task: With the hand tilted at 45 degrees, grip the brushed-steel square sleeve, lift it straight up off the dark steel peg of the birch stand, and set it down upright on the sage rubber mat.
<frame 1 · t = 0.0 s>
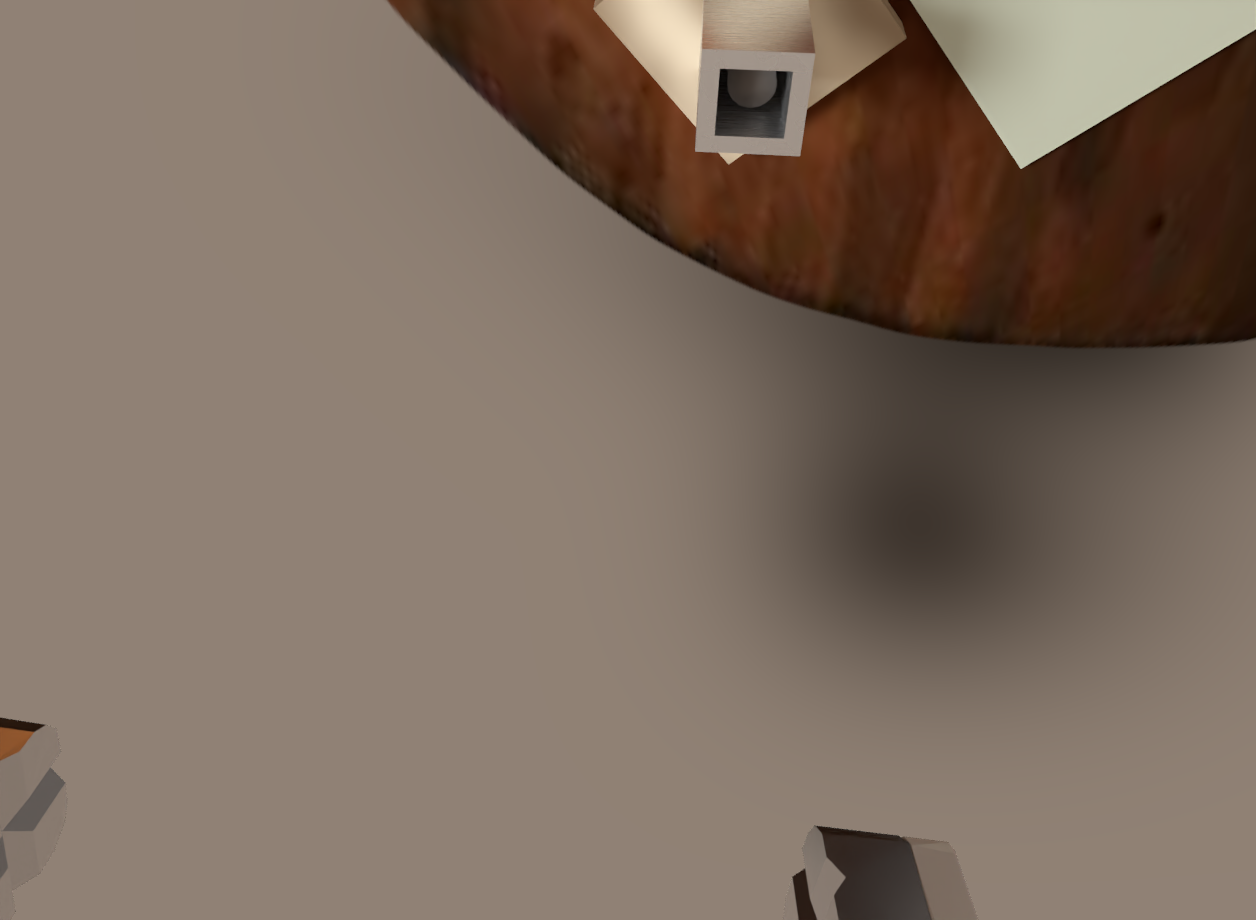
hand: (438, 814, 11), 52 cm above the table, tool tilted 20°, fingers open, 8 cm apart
steel sleeve: (749, 23, 54), point 2 cm above the table, touching peg stand
peg stand: (749, 8, 55), on the table
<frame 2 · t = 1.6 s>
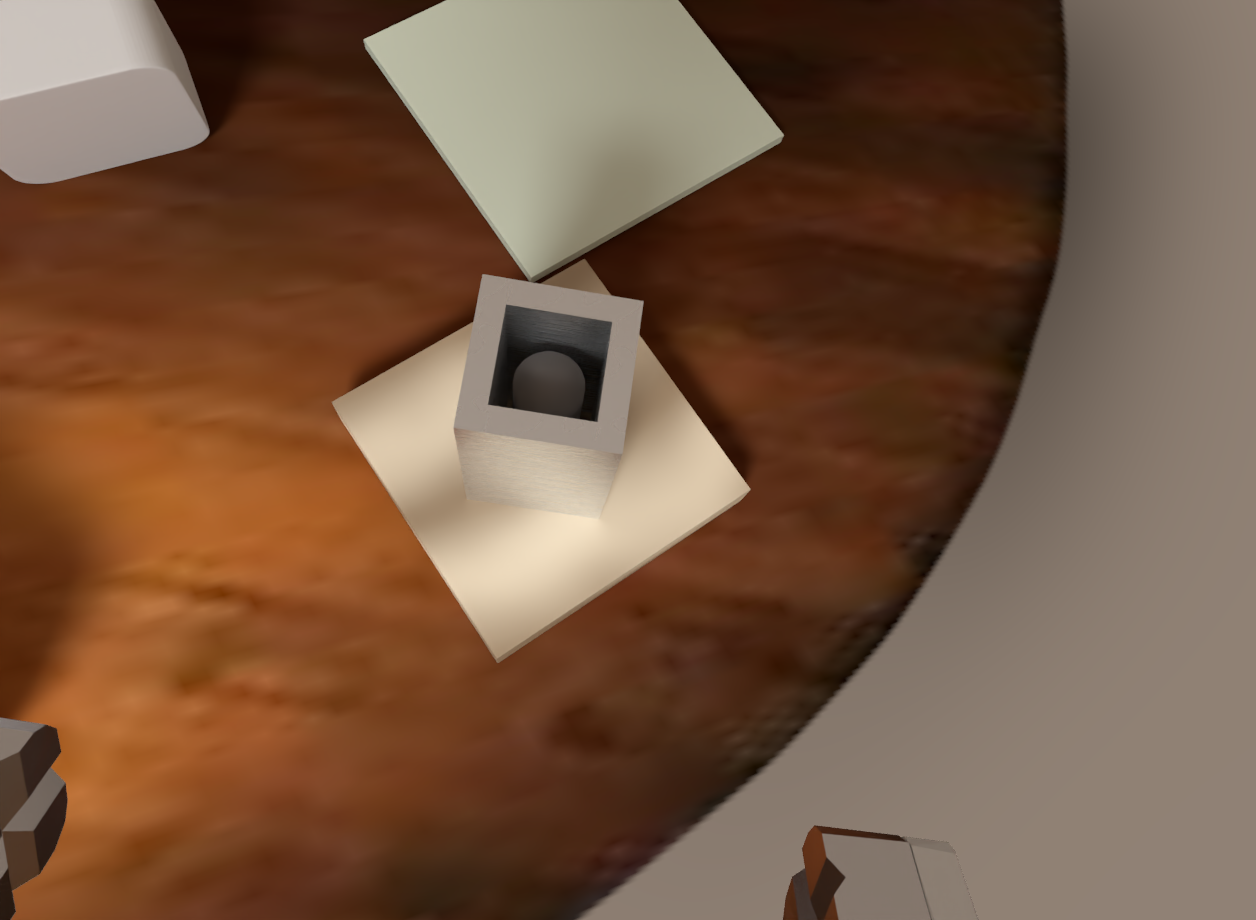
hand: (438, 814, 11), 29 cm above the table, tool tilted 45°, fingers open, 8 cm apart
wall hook: (101, 90, 45), on the table
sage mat: (575, 95, 47), on the table
steel sleeve: (543, 446, 40), point 2 cm above the table, touching peg stand
peg stand: (542, 460, 42), on the table
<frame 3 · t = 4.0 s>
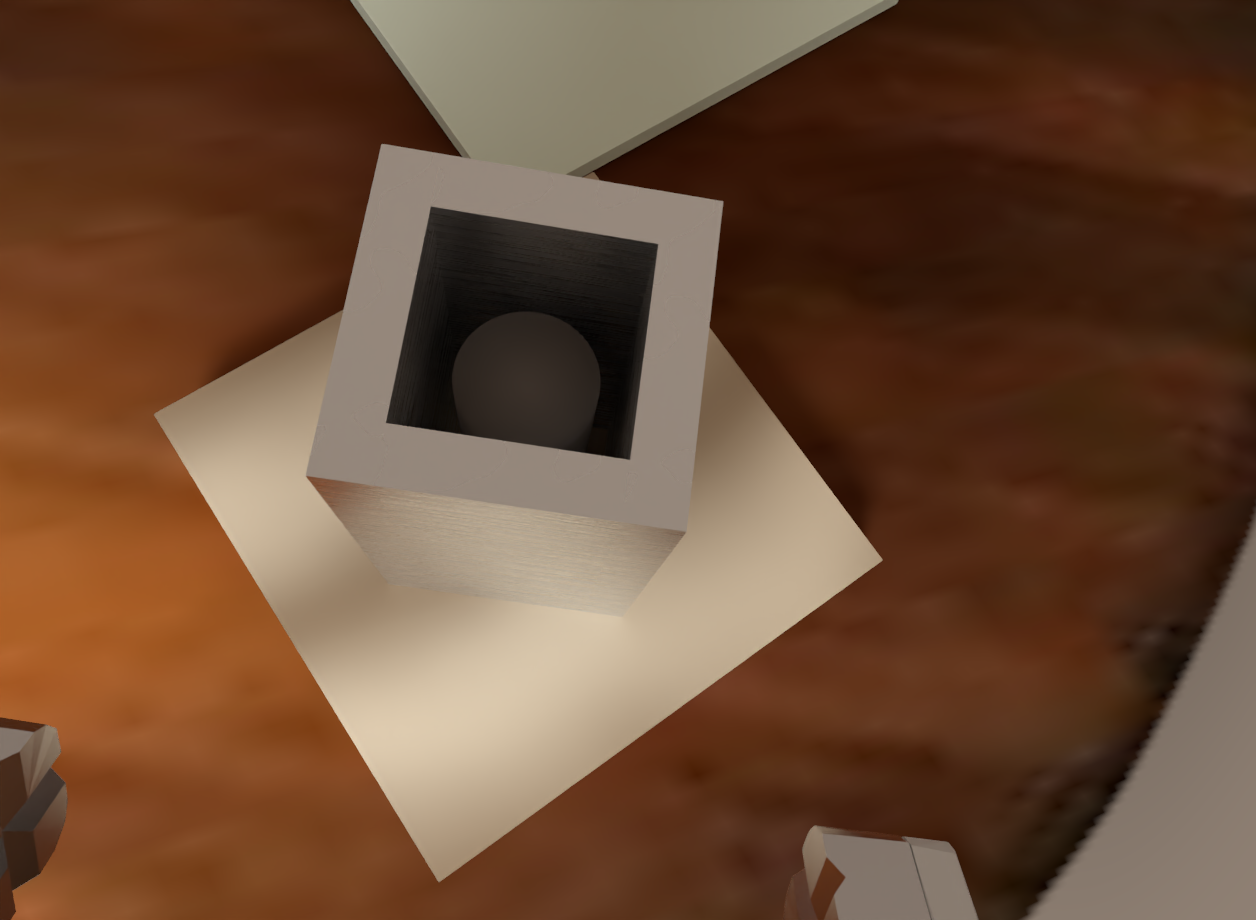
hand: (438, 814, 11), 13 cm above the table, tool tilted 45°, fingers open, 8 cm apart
steel sleeve: (524, 488, 23), point 2 cm above the table, touching peg stand
peg stand: (524, 508, 25), on the table
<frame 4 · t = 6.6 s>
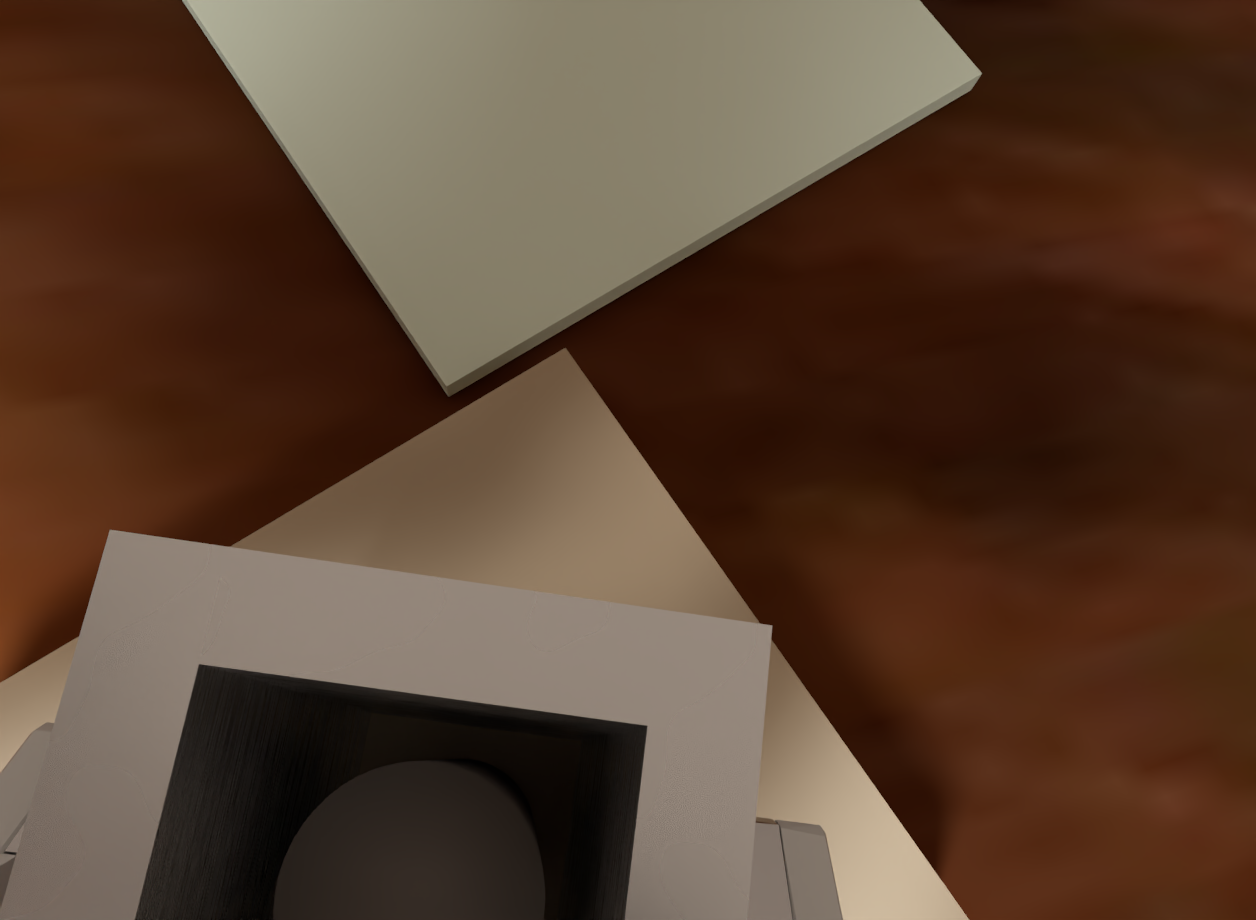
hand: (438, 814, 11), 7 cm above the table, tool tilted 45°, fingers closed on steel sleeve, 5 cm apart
steel sleeve: (458, 838, 16), point 2 cm above the table, touching gripper, peg stand
peg stand: (465, 829, 18), on the table
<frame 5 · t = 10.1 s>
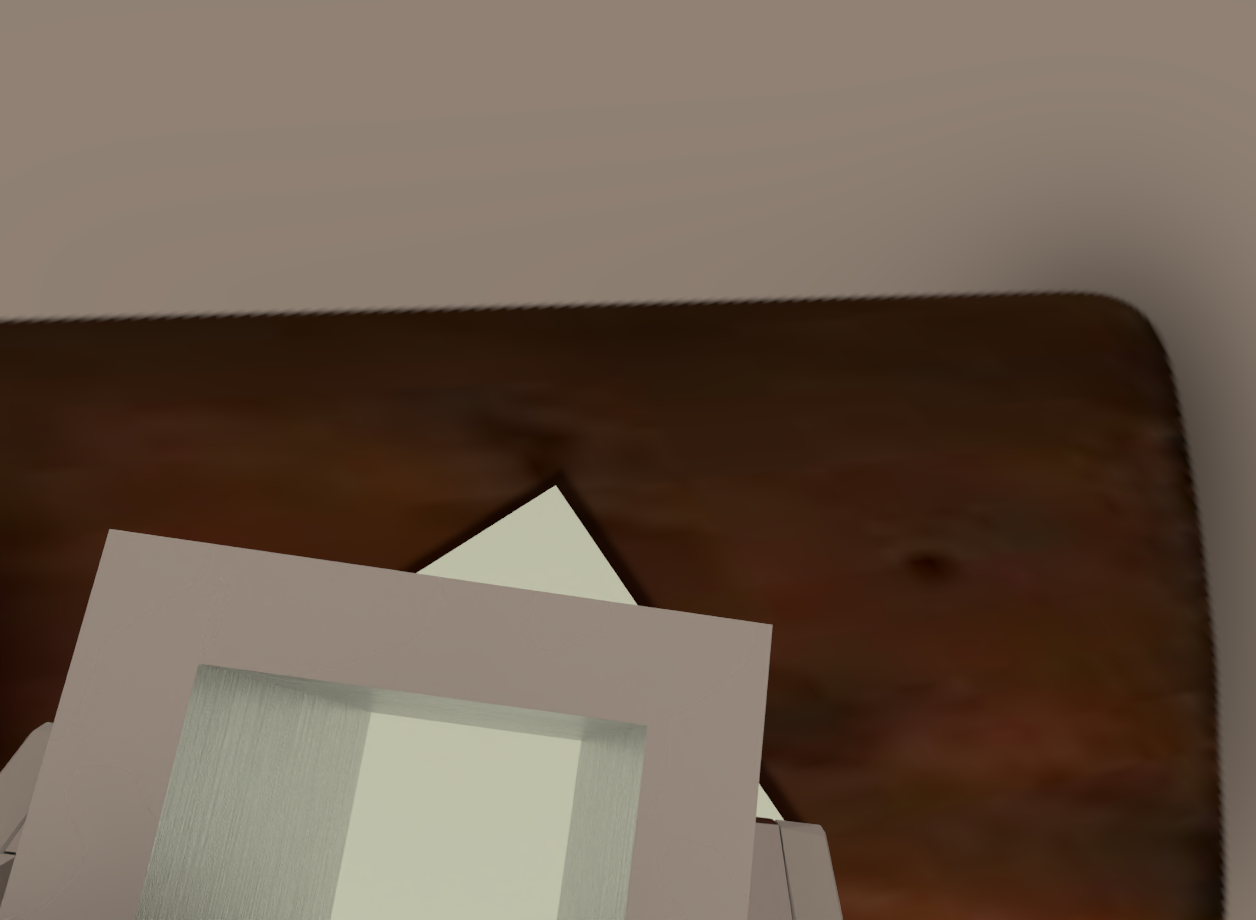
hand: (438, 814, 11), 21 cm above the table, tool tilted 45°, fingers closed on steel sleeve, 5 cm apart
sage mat: (491, 791, 31), on the table
steel sleeve: (458, 838, 16), point 16 cm above the table, touching gripper
when the fingers open (7 cm above the table, at t = 13.6 s): steel sleeve drops 2 cm, resting on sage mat.
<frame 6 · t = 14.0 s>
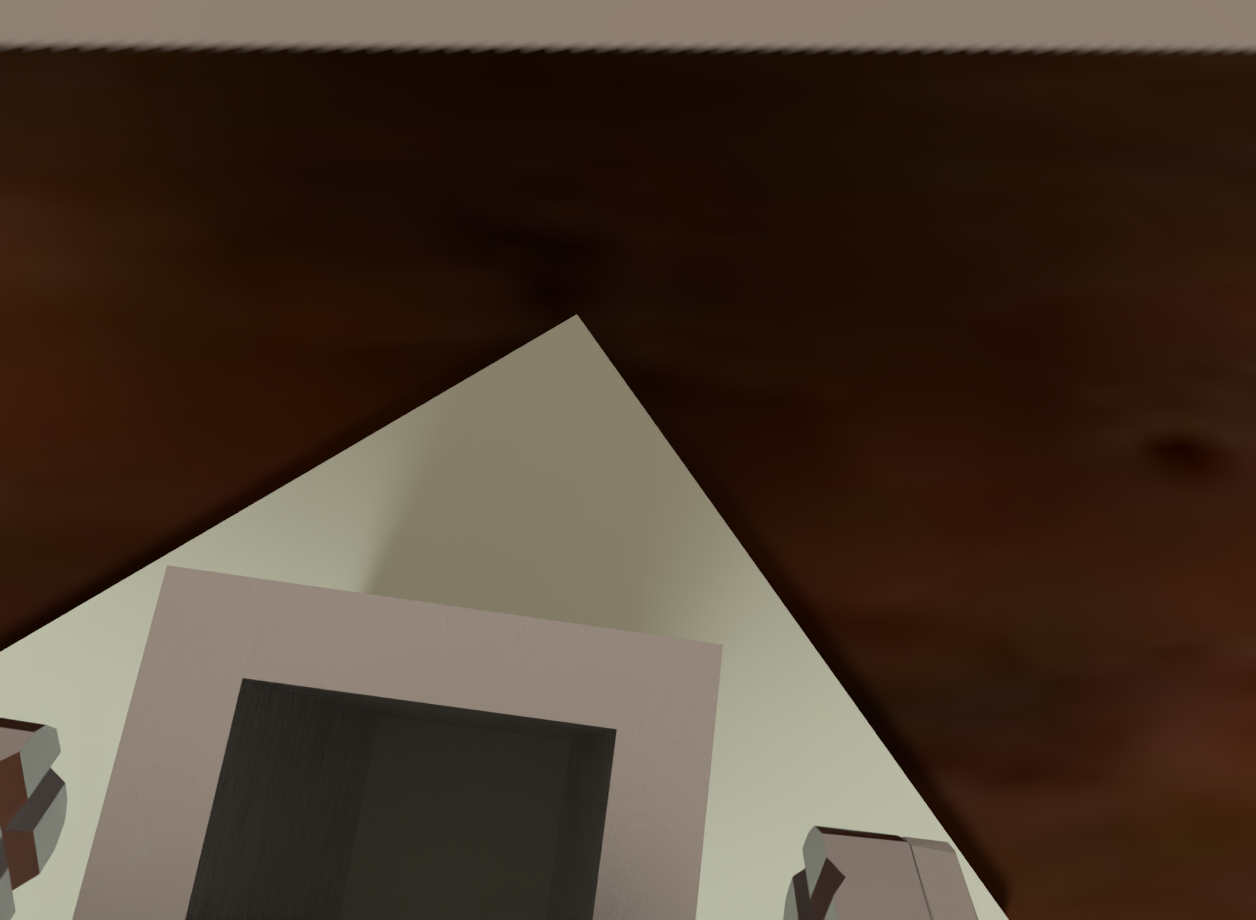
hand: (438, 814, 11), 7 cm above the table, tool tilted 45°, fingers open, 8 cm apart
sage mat: (466, 828, 18), on the table
steel sleeve: (458, 830, 17), point 1 cm above the table, touching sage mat
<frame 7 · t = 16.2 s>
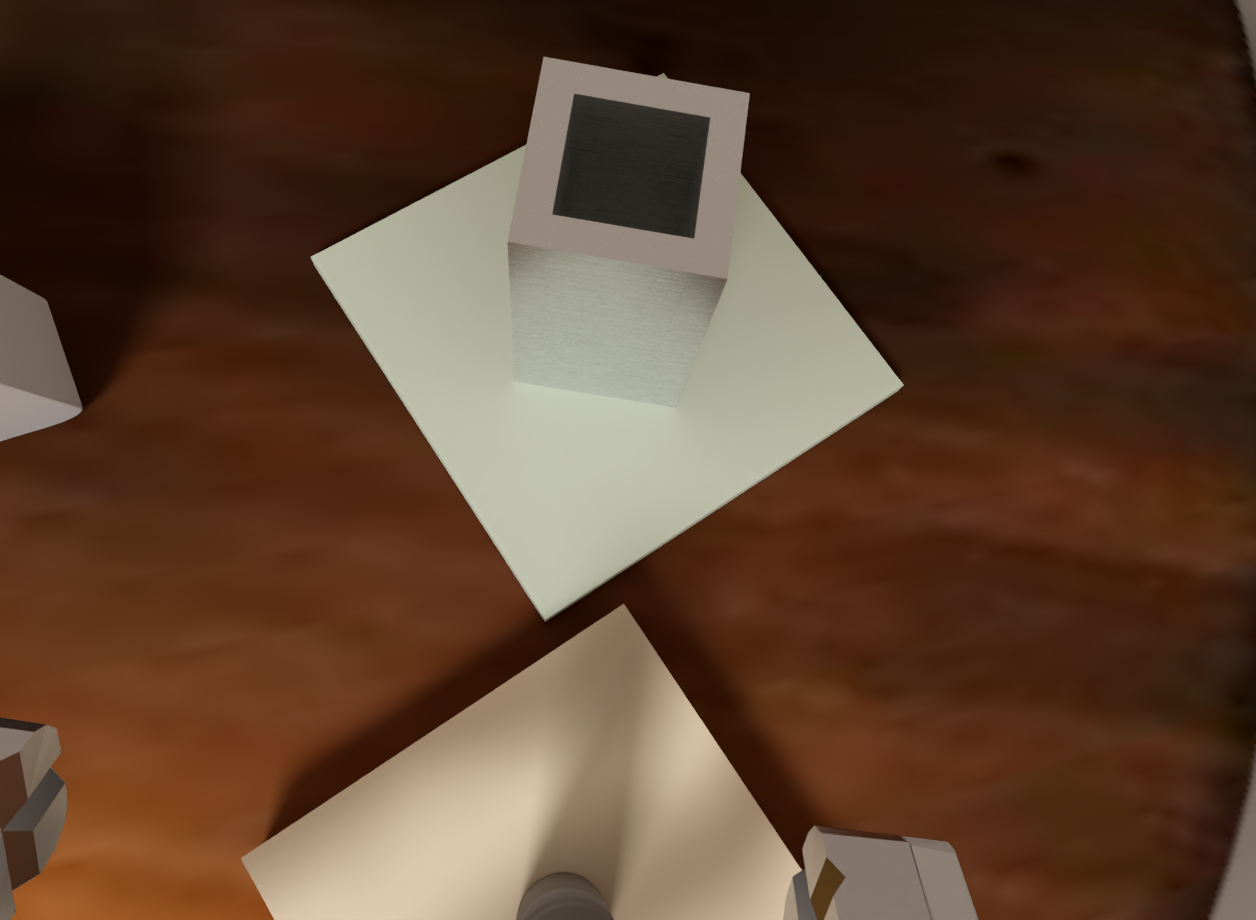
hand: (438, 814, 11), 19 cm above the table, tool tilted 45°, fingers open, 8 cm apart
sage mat: (608, 329, 33), on the table
steel sleeve: (606, 321, 33), point 1 cm above the table, touching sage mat
peg stand: (560, 910, 28), on the table
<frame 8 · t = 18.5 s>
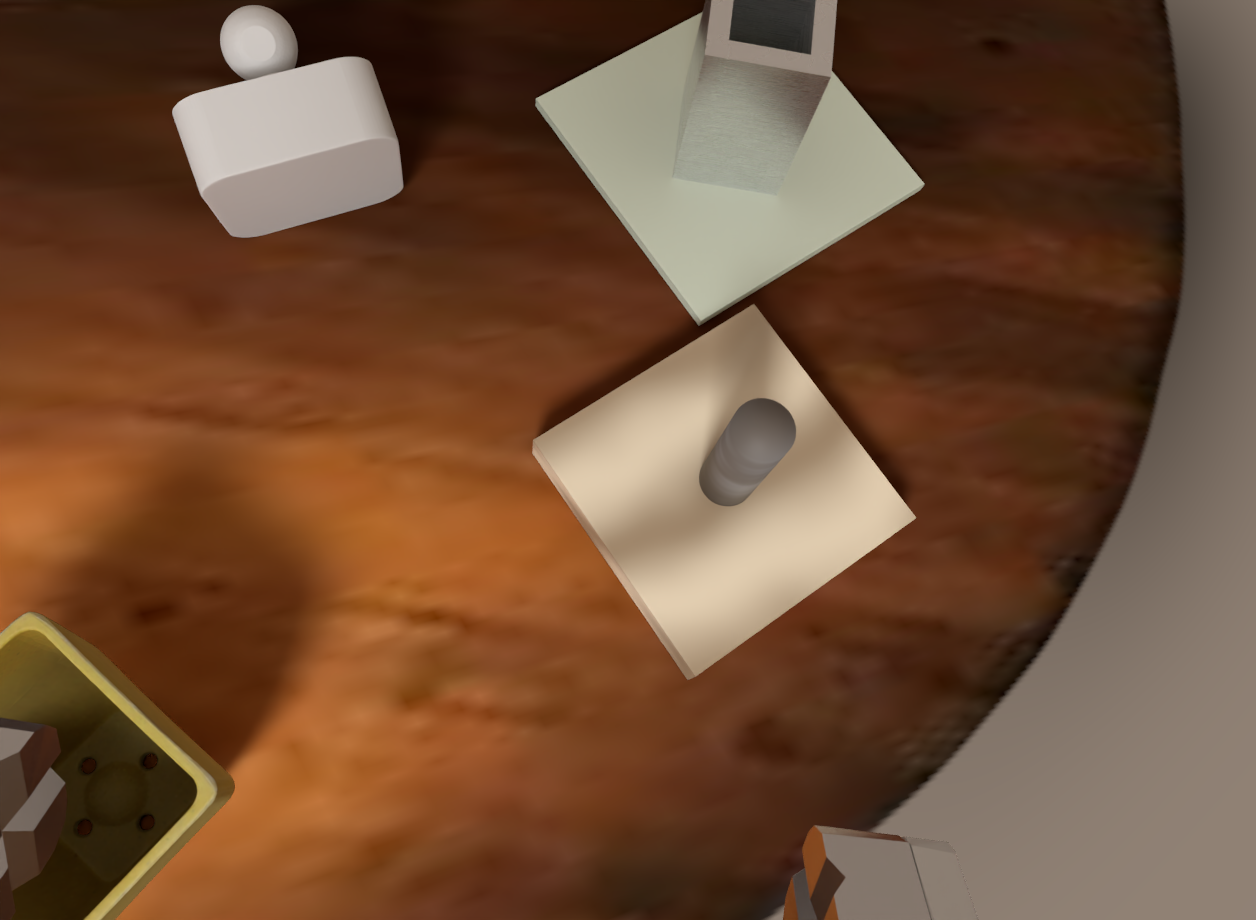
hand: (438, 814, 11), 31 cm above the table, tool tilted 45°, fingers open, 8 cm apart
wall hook: (297, 148, 48), on the table
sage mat: (729, 148, 50), on the table
flower pot: (125, 795, 39), on the table
steel sleeve: (729, 141, 50), point 1 cm above the table, touching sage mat
peg stand: (717, 491, 45), on the table
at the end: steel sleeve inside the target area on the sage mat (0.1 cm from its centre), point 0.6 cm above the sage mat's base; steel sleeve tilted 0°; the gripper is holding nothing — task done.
